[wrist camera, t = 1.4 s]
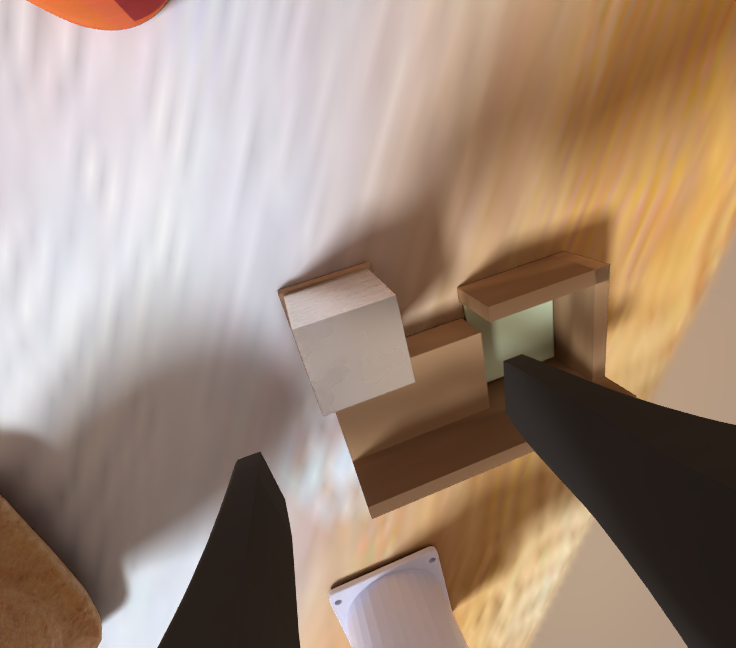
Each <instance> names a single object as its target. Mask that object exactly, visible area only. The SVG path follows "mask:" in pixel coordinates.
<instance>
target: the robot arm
mask: <svg viewBox="0 0 736 648" xmlns="http://www.w3.org/2000/svg"><path fill="white" fill-rule="evenodd" d="M503 367H504V388H505V409H506V414H507V415H508V417H509V418H510V420H511V421H512V423H513V424H514V426H515V427H516V428H517V430H518V431H519V433H520V434H521V435H522V437H523V438H524V439H525V441H526V442H527V443H528V444H529V445H530V447H531V448H532V449H533V450H534V451H535V452H536V453H537V454H538V455H539V457H540V458H541V459H542V460H543V461H544V462H545V463H546V464H547V465H548V466H549V468H550V469H551V470H552V471H553V472H554V473H555V474H556V475H557V476H558V477H559V478H560V480H561V481H562V482H563V483H564V484H565V485H566V486H567V487H568V488H569V489H570V490H571V492H572V493H573V494H574V495H575V496H576V497H577V498H578V499H579V500H580V501H581V502H582V503H583V505H584V506H585V507H586V508H587V509H588V510H589V512H590V513H591V514H592V515H593V516H594V518H595V519H596V520H597V521H598V522H599V524H600V525H601V526H602V528H603V529H604V530H605V532H606V533H607V534H608V536H609V537H610V538H611V539H612V541H613V542H614V543H615V545H616V546H617V547H618V549H619V550H620V551H621V553H622V554H623V555H624V557H625V558H626V559H627V561H628V562H629V564H630V565H631V566H632V568H633V569H634V570H635V572H636V573H637V574H638V576H639V577H640V579H641V580H642V581H643V583H644V584H645V585H646V587H647V588H648V589H649V591H650V592H651V594H652V595H653V597H654V598H655V600H656V601H657V603H658V604H659V605H660V607H661V608H662V610H663V611H664V613H665V614H666V616H667V617H668V618H669V620H670V621H671V623H672V624H673V626H674V627H675V628H676V630H677V631H678V633H679V634H680V636H681V637H682V639H683V640H684V642H685V643H686V645H687V646H688V648H736V425H733V424H728V423H724V422H719V421H715V420H711V419H707V418H703V417H699V416H695V415H692V414H688V413H684V412H681V411H677V410H674V409H670V408H667V407H663V406H660V405H657V404H653V403H650V402H647V401H644V400H641V399H638V398H635V397H632V396H629V395H626V394H623V393H620V392H618V391H615V390H612V389H609V388H607V387H604V386H601V385H599V384H596V383H593V382H591V381H588V380H586V379H583V378H581V377H578V376H576V375H573V374H571V373H568V372H566V371H563V370H561V369H558V368H556V367H553V366H551V365H549V364H546V363H544V362H541V361H539V360H536V359H534V358H531V357H528V356H526V355H523V354H521V355H518V356H515V357H513V358H510V359H507V360H505V361H503ZM328 597H329V601H330V604H331V606H332V608H333V610H334V612H335V614H336V616H337V618H338V620H339V622H340V624H341V626H342V628H343V630H344V632H345V634H346V636H347V638H348V640H349V642H350V645H351V647H352V648H468V646H467V643H466V641H465V639H464V637H463V634H462V632H461V630H460V628H459V625H458V623H457V621H456V619H455V616H454V614H453V612H452V609H451V605H450V601H449V597H448V593H447V589H446V585H445V580H444V576H443V572H442V568H441V564H440V560H439V556H438V552H437V550H436V548H435V547H433V546H429V547H427V548H424V549H422V550H420V551H418V552H415V553H413V554H411V555H409V556H406V557H404V558H402V559H399V560H397V561H395V562H393V563H390V564H388V565H386V566H384V567H381V568H379V569H377V570H375V571H372V572H370V573H368V574H365V575H363V576H361V577H359V578H356V579H354V580H352V581H350V582H347V583H345V584H343V585H340V586H338V587H336V588H334V589H332V590H331V591H330V592H329V593H328ZM158 648H300V641H299V631H298V616H297V601H296V586H295V572H294V558H293V544H292V535H291V529H290V523H289V518H288V512H287V507H286V502H285V498H284V496H283V495H282V493H281V491H280V489H279V487H278V485H277V483H276V481H275V479H274V477H273V475H272V473H271V471H270V469H269V467H268V465H267V463H266V461H265V460H264V458H263V456H262V454H261V452H258V453H255V454H252V455H250V456H247V457H244V458H242V459H239V460H237V462H236V464H235V467H234V470H233V473H232V476H231V479H230V482H229V485H228V488H227V491H226V494H225V497H224V500H223V502H222V505H221V508H220V511H219V514H218V516H217V519H216V521H215V524H214V527H213V529H212V532H211V534H210V537H209V540H208V542H207V545H206V547H205V549H204V552H203V554H202V556H201V559H200V561H199V563H198V565H197V568H196V570H195V572H194V575H193V577H192V579H191V581H190V584H189V586H188V588H187V590H186V592H185V594H184V597H183V599H182V601H181V603H180V605H179V607H178V609H177V611H176V613H175V615H174V617H173V619H172V621H171V623H170V625H169V627H168V629H167V631H166V633H165V634H164V636H163V638H162V640H161V642H160V644H159V646H158Z"/></svg>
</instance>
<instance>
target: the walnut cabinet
mask: <svg viewBox="0 0 736 648" xmlns="http://www.w3.org/2000/svg"><path fill="white" fill-rule="evenodd" d="M367 268H368V269H369V270H370V271H371V272H372V273H373V271H372V267H371V264H369V263H368V262H365V263H362V264H359V265H356V266H353V267H350V268H346V269H343V270H340V271H337V272H334V273H331V274H328V275H324V276H321V277H318V278H315V279H312V280H309V281H306V282H302V283H299V284H296V285H293V286H290V287H287V288H283V289H280V290H278V295H279V298H280V300H281V303H282V306H283V309H284V311H285V314H286V317H287V320H288V322H289V325H290V321H289V316H288V312H287V308H286V304H285V300H284V295H285V294H288V293H291V292H295V291H298V290H301V289H304V288H307V287H310V286H313V285H316V284H320V283H323V282H326V281H329V280H332V279H335V278H338V277H342V276H345V275H348V274H351V273H354V272H357V271H360V270H363V269H367ZM609 268H610V264H607V263H603V262H600V261H596V260H593V259H590V258H586V257H583V256H580V255H576V254H573V253H569V252H566V251H564V252H561V253H558V254H555V255H552V256H549V257H546V258H543V259H540V260H537V261H534V262H531V263H529V264H526V265H523V266H520V267H517V268H514V269H511V270H508V271H505V272H502V273H499V274H496V275H493V276H490V277H487V278H484V279H481V280H478V281H476V282H473V283H470V284H467V285H464V286H461V287H458V288H457V290H458V297H459V302H461V303H462V304H463V307H464V314H465V320H463V319H462V318H460V319H457V320H454V321H452V322H449V323H446V324H443V325H440V326H437V327H435V328H432V329H429V330H426V331H423V332H420V333H418V334H415V335H412V336H409V337H406V343H407V347H408V352H409V356H410V361H411V365H412V370H413V374H414V379H415V382H414V383H412V384H409V385H406V386H404V387H401V388H398V389H396V390H393V391H390V392H387V393H385V394H382V395H379V396H377V397H374V398H371V399H369V400H366V401H363V402H361V403H358V404H355V405H353V406H350V407H347V408H344V409H342V410H339V411H336V415H337V418H338V421H339V423H340V426H341V429H342V432H343V435H344V438H345V441H346V444H347V447H348V449H349V452H350V455H351V458H352V461H353V464H354V467H355V470H356V473H357V476H358V479H359V482H360V485H361V488H362V491H363V494H364V497H365V500H366V503H367V506H368V509H369V512H370V514H371V517H372V519H373V518H376V517H378V516H381V515H383V514H385V513H388V512H390V511H392V510H395V509H397V508H400V507H402V506H404V505H407V504H409V503H411V502H414V501H416V500H419V499H421V498H423V497H426V496H428V495H431V494H433V493H435V492H438V491H440V490H442V489H445V488H447V487H450V486H452V485H454V484H457V483H459V482H461V481H464V480H466V479H469V478H471V477H473V476H476V475H478V474H481V473H483V472H485V471H488V470H490V469H492V468H495V467H497V466H500V465H502V464H504V463H507V462H509V461H511V460H514V459H516V458H519V457H521V456H523V455H526V454H528V453H531V452H533V451H534V450H533V449H532V448H531V447H530V445H529V444H528V443H527V442H526V441H525V439H524V438H523V437H522V435H521V434H520V433H519V431H518V430H517V428H516V427H515V426H514V424H513V423H512V421H511V420H510V418H509V417H508V415H507V414H506V409H505V388H504V367H503V361H505V360H507V359H510V358H513V357H515V356H518V355H521V354H523V355H526V356H528V357H531V358H534V359H536V360H539V361H542V362H544V363H546V364H549V365H551V366H553V367H556V368H558V369H561V370H563V371H566V372H568V373H571V374H573V375H576V376H578V377H581V378H583V379H586V380H588V381H591V382H593V383H596V384H599V385H601V386H604V387H607V388H609V389H612V390H615V391H618V392H620V393H623V394H626V395H629V396H632V397H635V398H636V397H637V396H636V395H634V394H632V393H631V392H629V391H627V390H626V389H624V388H623V387H621V386H619V385H618V384H616V383H614V382H613V381H611V380H610V379H608V378H606V377H605V360H606V337H607V314H608V291H609ZM553 311H554V338H553ZM290 328H291V325H290ZM291 330H292V329H291ZM292 333H293V332H292ZM293 336H294V335H293ZM294 339H295V338H294ZM295 341H296V340H295ZM296 344H297V343H296ZM297 347H298V346H297ZM298 350H299V349H298ZM554 351H555V357H554ZM299 352H300V351H299ZM300 355H301V354H300ZM552 357H553V358H552ZM301 358H302V357H301ZM549 358H550V359H549ZM547 359H548V360H547ZM544 360H545V361H544ZM302 361H303V359H302ZM303 363H304V362H303ZM304 366H305V365H304ZM305 369H306V368H305ZM306 371H307V370H306ZM307 374H308V373H307ZM502 376H503V377H502ZM308 377H309V376H308ZM500 377H501V378H500ZM497 378H498V379H497ZM494 379H496V380H494ZM492 380H493V381H492ZM489 381H490V382H489ZM487 382H488V383H487Z"/></svg>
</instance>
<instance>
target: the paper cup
mask: <svg viewBox="0 0 736 648" xmlns="http://www.w3.org/2000/svg"><path fill="white" fill-rule="evenodd" d="M27 1H29V2H31V3H33V4H35V5H36V6H38V7H40V8H42V9H44V10H46V11H48V12H50V13H52V14H54V15H56V16H58V17H60V18H63V19H65V20H67V21H69V22H72V23H75V24H77V25H80V26H84V27H88V28H93V29H98V30H112V31H113V30H123V29H128V28H132V27H135V26H138V25H140V24H142V23H144V22H146V21H148V20H149V19H151V18H152V17H153V16H155V15H156V14H157V13H158V12H159V11H160V10H161V9H162V7H163V6H164V5H165V3H166V2H167V1H168V0H27Z"/></svg>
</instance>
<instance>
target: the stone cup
mask: <svg viewBox="0 0 736 648" xmlns="http://www.w3.org/2000/svg"><path fill="white" fill-rule="evenodd" d="M101 639H102V625H101V619H100V616H99V613H98V611H97V609H96V607H95V606H94V604H93V602H92V600H91V598H90V596H89V594H88V593H87V591H86V590H85V588H84V587H83V585H82V584H81V583H80V582H79V581H78V580H77V578H76V577H75V576H74V575H73V574H72V573H71V571H70V570H69V569H68V568H67V567H66V566H65V565H64V564H63V562H62V561H61V560H60V559H59V558H58V556H57V555H56V554H55V553H54V552H53V550H52V549H51V548H50V547H49V546H48V545H47V544H46V543H45V542H44V541H43V540H42V539H41V538H40V537H39V536H38V534H37V533H36V532H35V531H34V530H33V529H32V528H31V527H30V526H29V525H28V524H27V523H26V522H25V521H24V519H23V518H22V517H21V516H20V515H19V514H18V513H17V512H16V511H15V510H14V508H13V507H12V506H11V505H10V504H9V503H8V502H7V500H6V499H5V498H3V497H2V496H1V495H0V648H97V647H98V645H99V643H100V642H101Z"/></svg>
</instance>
